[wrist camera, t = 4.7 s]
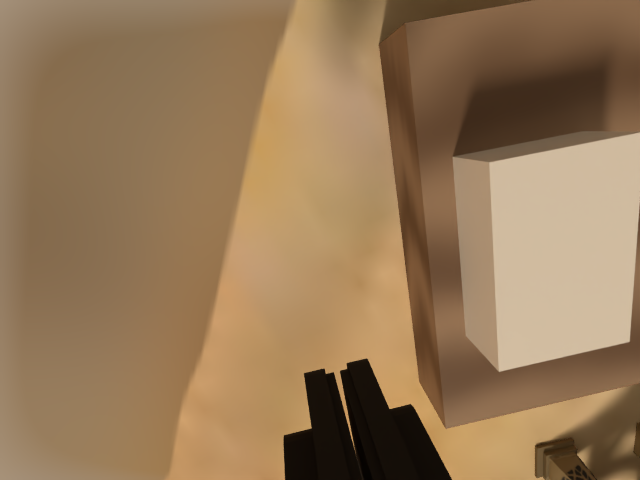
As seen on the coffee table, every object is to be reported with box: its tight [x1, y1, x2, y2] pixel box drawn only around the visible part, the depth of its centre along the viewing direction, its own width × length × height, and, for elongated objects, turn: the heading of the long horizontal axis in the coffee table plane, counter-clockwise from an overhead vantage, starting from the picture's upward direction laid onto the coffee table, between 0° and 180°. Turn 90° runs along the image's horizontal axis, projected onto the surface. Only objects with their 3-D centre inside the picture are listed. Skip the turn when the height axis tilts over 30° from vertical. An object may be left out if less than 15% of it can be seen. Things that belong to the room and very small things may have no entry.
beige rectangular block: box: [453, 131, 640, 372], centre depth 17 cm, size 9×6×3 cm, turn 10°
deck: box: [379, 0, 640, 429], centre depth 20 cm, size 20×14×4 cm
